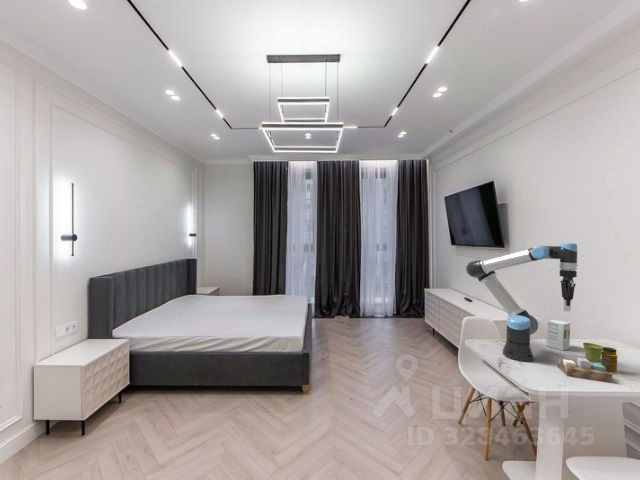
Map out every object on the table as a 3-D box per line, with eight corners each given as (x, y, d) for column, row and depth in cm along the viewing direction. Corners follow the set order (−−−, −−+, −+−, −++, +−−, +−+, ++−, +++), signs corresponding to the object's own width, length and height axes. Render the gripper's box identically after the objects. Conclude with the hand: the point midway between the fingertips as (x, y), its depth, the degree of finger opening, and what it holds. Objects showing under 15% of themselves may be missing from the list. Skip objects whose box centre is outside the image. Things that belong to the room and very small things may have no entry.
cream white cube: (566, 369, 153) (566, 362, 153) (562, 366, 157) (563, 359, 157) (575, 371, 152) (575, 363, 152) (572, 368, 156) (572, 360, 156)
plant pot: (608, 364, 167) (608, 349, 167) (589, 362, 168) (589, 347, 168) (596, 357, 176) (596, 343, 176) (578, 356, 178) (578, 341, 178)
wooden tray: (567, 375, 150) (567, 368, 150) (557, 366, 161) (557, 359, 161) (612, 382, 144) (612, 374, 144) (598, 372, 155) (599, 365, 155)
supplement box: (563, 351, 186) (563, 324, 185) (546, 346, 194) (546, 320, 194) (569, 348, 190) (570, 322, 190) (553, 343, 198) (553, 319, 198)
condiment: (621, 373, 155) (622, 350, 155) (609, 374, 154) (610, 351, 154) (605, 367, 163) (605, 345, 163) (593, 368, 161) (594, 346, 161)
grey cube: (580, 368, 151) (580, 360, 151) (576, 365, 155) (577, 357, 155) (590, 369, 150) (590, 362, 150) (586, 366, 154) (586, 359, 154)
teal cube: (595, 374, 149) (595, 366, 149) (591, 370, 153) (591, 363, 153) (605, 375, 148) (605, 367, 148) (600, 372, 152) (600, 364, 152)
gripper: (581, 271, 160) (580, 314, 160) (571, 269, 172) (569, 309, 172) (564, 270, 163) (563, 312, 163) (555, 268, 175) (554, 307, 175)
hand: (566, 311), depth 168 cm, fingers closed
